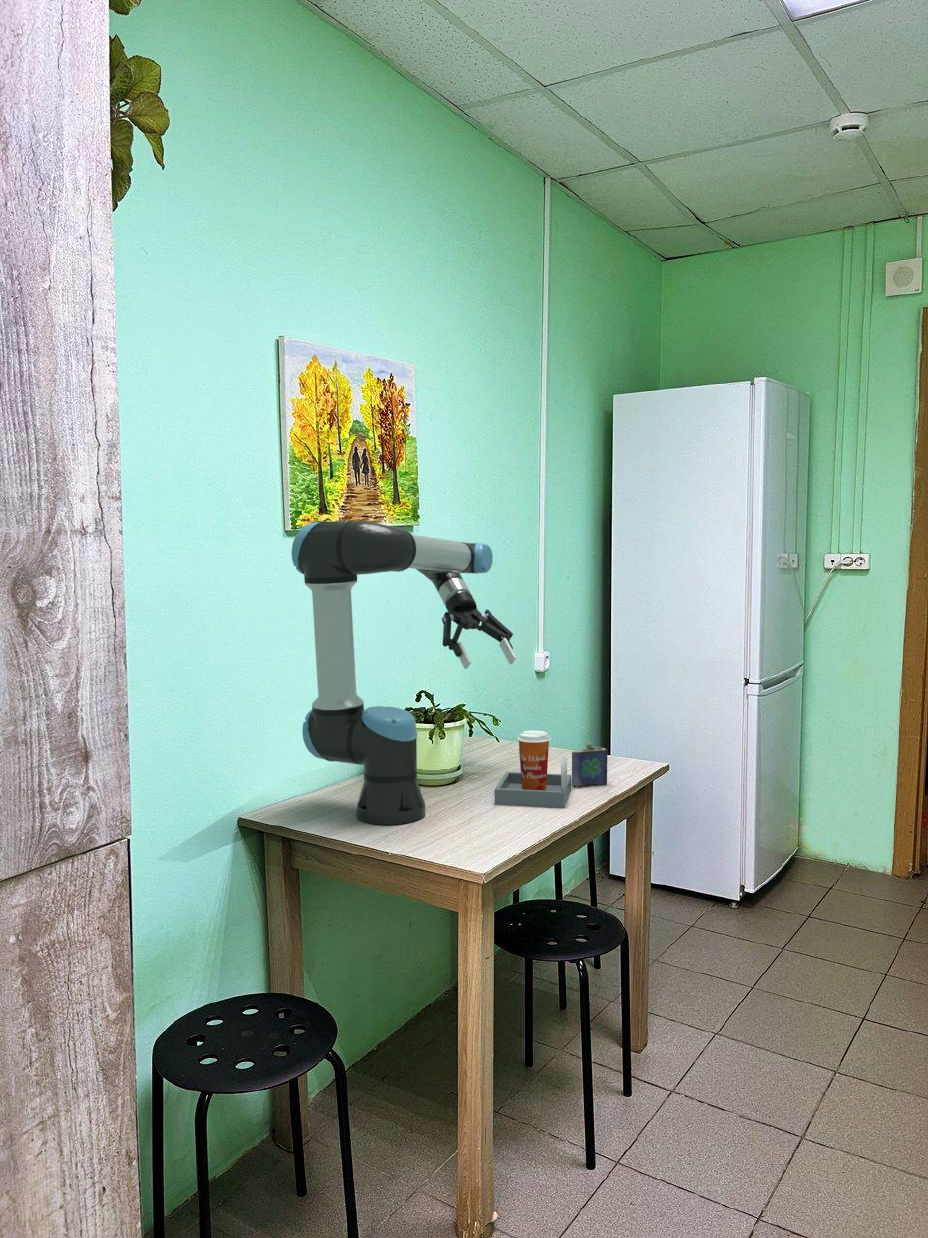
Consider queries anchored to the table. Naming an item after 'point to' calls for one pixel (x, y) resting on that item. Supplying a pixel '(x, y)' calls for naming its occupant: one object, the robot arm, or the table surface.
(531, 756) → the paper cup
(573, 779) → the flask
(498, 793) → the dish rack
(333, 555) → the robot arm
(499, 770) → the table surface
